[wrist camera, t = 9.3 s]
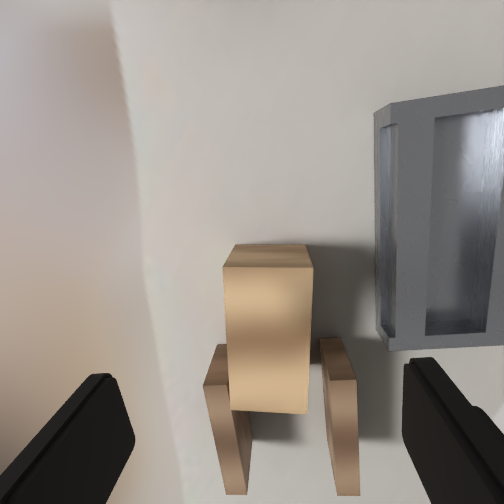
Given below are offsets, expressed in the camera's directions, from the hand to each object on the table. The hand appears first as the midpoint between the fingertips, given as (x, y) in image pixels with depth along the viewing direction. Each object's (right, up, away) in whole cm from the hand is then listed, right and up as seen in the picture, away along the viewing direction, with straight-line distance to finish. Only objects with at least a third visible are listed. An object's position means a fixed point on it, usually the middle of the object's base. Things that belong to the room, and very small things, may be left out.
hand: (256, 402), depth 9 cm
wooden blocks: (+3, -7, +14) cm, 16 cm away
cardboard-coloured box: (+1, +1, +12) cm, 13 cm away
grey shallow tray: (+12, +6, +9) cm, 17 cm away
